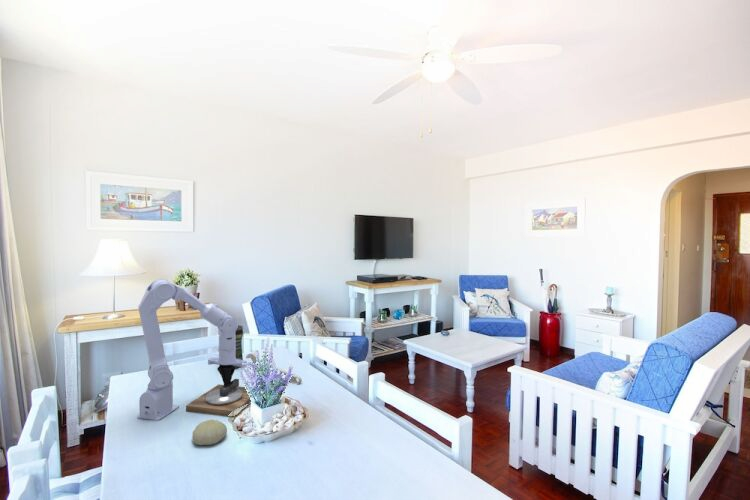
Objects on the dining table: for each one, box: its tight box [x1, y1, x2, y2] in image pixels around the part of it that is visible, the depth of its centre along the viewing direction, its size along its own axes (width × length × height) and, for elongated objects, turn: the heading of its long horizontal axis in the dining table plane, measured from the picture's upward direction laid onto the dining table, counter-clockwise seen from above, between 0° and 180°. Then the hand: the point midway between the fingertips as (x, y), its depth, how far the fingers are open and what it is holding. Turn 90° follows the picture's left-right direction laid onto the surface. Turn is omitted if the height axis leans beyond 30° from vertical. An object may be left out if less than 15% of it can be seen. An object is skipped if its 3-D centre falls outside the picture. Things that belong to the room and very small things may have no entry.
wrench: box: [245, 352, 302, 385], centre depth 153 cm, size 8×2×30 cm
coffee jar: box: [235, 324, 244, 369], centre depth 163 cm, size 10×8×19 cm
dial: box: [206, 378, 242, 405], centre depth 129 cm, size 14×12×4 cm
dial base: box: [185, 383, 251, 417], centre depth 129 cm, size 18×18×2 cm
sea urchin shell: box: [191, 419, 228, 446], centre depth 106 cm, size 9×8×8 cm
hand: (227, 384), depth 134 cm, fingers closed
